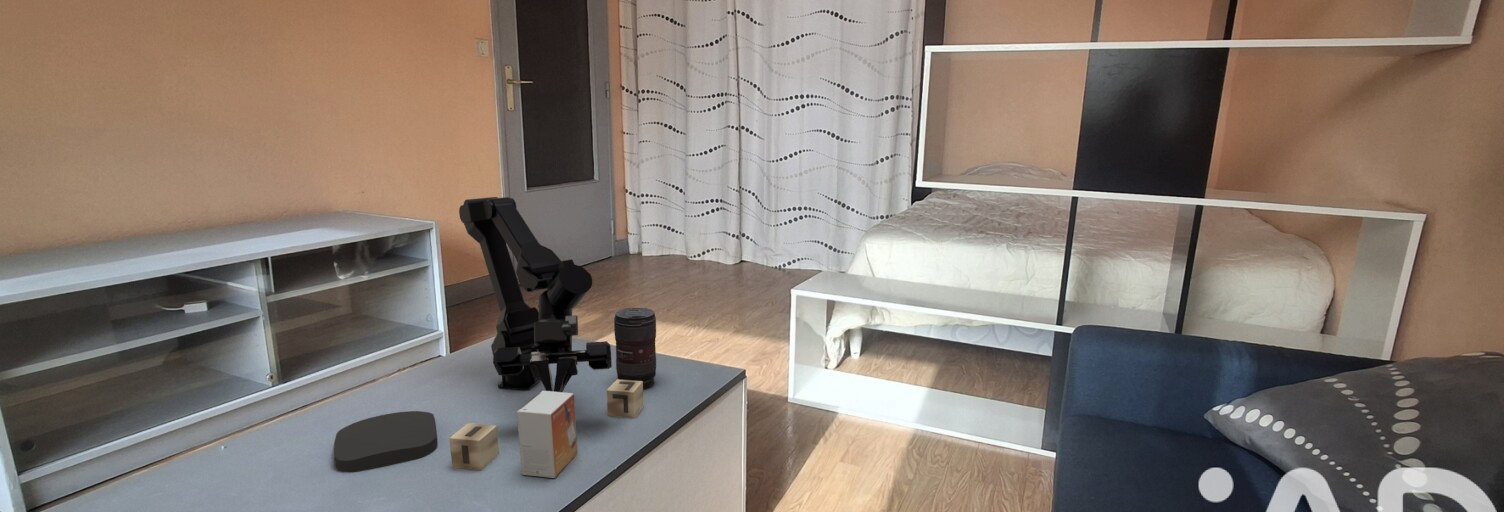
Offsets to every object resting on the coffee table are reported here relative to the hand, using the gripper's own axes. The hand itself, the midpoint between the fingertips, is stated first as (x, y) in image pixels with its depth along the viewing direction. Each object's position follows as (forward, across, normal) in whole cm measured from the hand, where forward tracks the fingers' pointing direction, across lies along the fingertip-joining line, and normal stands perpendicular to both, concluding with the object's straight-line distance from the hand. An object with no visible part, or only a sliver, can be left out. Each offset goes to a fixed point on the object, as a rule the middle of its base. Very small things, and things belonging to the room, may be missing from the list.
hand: (553, 406), depth 110 cm
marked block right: (-3, +11, +13) cm, 17 cm away
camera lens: (-11, +14, +21) cm, 28 cm away
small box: (+9, 0, +1) cm, 9 cm away
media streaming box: (+2, -27, +9) cm, 29 cm away
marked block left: (+7, -12, +3) cm, 14 cm away
